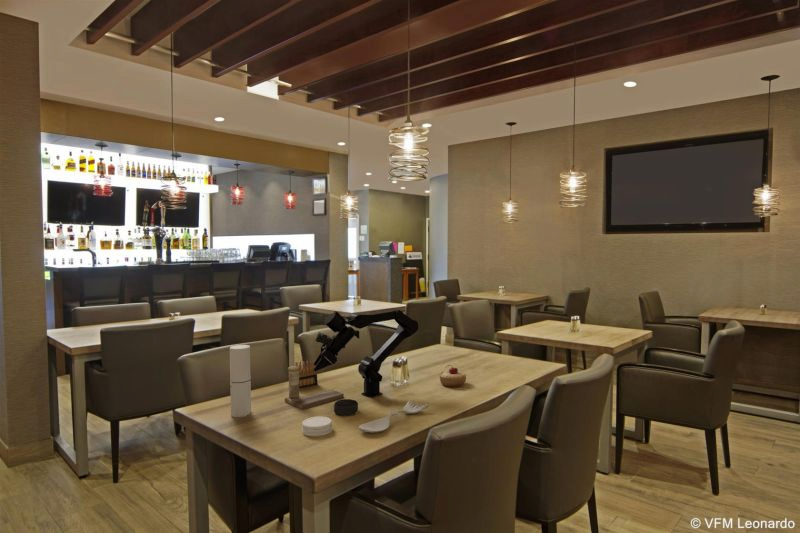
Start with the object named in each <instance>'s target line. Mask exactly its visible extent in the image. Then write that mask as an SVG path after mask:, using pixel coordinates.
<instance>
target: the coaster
mask: <svg viewBox="0 0 800 533" xmlns="http://www.w3.org/2000/svg"><path fill="white" fill-rule="evenodd" d="M301 428H302V430H301V432H302V434H303V435H304V436H307V437H323V436H327V435H329V434H331V433H332V432H333V420H332V419H331V418H329V417H326V416H312V417H308V418H306V419H304V420H303V421H302V423H301Z"/></svg>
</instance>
